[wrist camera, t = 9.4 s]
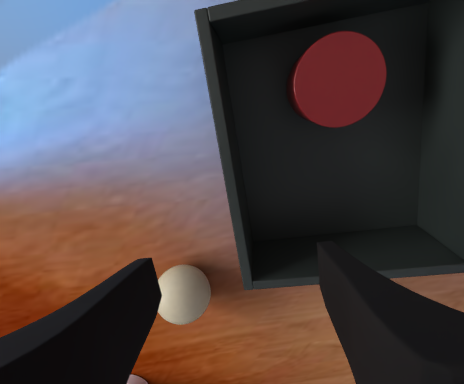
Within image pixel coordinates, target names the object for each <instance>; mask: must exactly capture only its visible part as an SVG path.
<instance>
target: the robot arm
mask: <svg viewBox="0 0 464 384" xmlns="http://www.w3.org/2000/svg"><path fill="white" fill-rule="evenodd" d="M317 253H318V269H319V284H320V288H321V292H322V295H323V299H324V302H325V306H326V309H327V311H328V313H329V316H330V318H331V321H332V323H333V326H334V328H335V330H336V333H337V335H338V338H339V340H340V342H341V345H342V347H343V350H344V352H345V354H346V357H347V359H348V362H349V364H350V367H351V370H352V373H353V376H354V379H355V382H356V384H464V313H463V312H461V311H458V310H455V309H453V308H450V307H448V306H445V305H443V304H440V303H438V302H436V301H433V300H431V299H428V298H426V297H424V296H422V295H419V294H417V293H415V292H413V291H411V290H409V289H407V288H405V287H403V286H401V285H399V284H397V283H395V282H394V281H392V280H390V279H388V278H386V277H385V276H383V275H381V274H380V273H378V272H376V271H375V270H373V269H372V268H370V267H368V266H367V265H365V264H364V263H362V262H361V261H359V260H358V259H356V258H355V257H354V256H352V255H351V254H349V253H348V252H347V251H345V250H344V249H343V248H341V247H340V246H339V245H337V244H336V243H334V242H333V241H326V242H317ZM161 298H162V293H161V290H160V286H159V283H158V279H157V275H156V272H155V268H154V265H153V261H152V258H143V259H137V260H136V261H134V262H132V263H130V264H129V265H127V266H126V267H124V268H123V269H121V270H120V271H118V272H117V273H115V274H114V275H112V276H111V277H109V278H108V279H106V280H105V281H103V282H102V283H101V284H99V285H98V286H96V287H94V288H93V289H91V290H90V291H88V292H87V293H85V294H83V295H82V296H80V297H79V298H77V299H76V300H74V301H72V302H71V303H69V304H67V305H65V306H64V307H62V308H60V309H58V310H56V311H55V312H53V313H51V314H49V315H47V316H45V317H43V318H41V319H39V320H37V321H35V322H33V323H31V324H29V325H27V326H25V327H23V328H21V329H18V330H16V331H14V332H12V333H10V334H8V335H5V336H3V337H1V338H0V384H127V381H128V379H129V376H130V374H131V372H132V369H133V367H134V365H135V362H136V360H137V358H138V356H139V354H140V351H141V349H142V347H143V345H144V343H145V340H146V338H147V336H148V334H149V332H150V329H151V327H152V325H153V323H154V320H155V318H156V315H157V312H158V309H159V305H160V302H161Z"/></svg>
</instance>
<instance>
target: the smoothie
mask: <svg viewBox="0 0 464 384" xmlns="http://www.w3.org/2000/svg"><path fill="white" fill-rule="evenodd" d="M127 384H148V383H147V382H146V381H145V380H144V379H143V378H141V377H139V376H136V375H130V376H129V379H128V381H127Z"/></svg>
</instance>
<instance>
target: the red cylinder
mask: <svg viewBox="0 0 464 384" xmlns="http://www.w3.org/2000/svg"><path fill="white" fill-rule="evenodd" d="M386 75H387V71H386V63H385V59H384V56H383V54H382V52H381V50H380V48H379V47H378V46H377V44H376V43H375V42H374V41H373V40H371V39H370V38H369V37H367V36H365V35H363V34H361V33H358V32H354V31H338V32H334V33H330V34H328V35H326V36H324V37H322V38H320V39H319V40H317V41H316V42H315V43H313V44H312V45H311V46H310V47H309V48H308V49H307V50H306V51H305V52H304V53H303V54H302V55H301V56H300V58H299V59H298V60H297V61H296V62H295V63H294V65H293V67H292V68H291V70H290V73H289V76H288V79H287V86H286V91H287V98H288V101H289V104H290V106H291V107H292V109H293V110H294V112H295V113H296V114H297V115H298V116H300V117H301V118H303V119H304V120H307V121H309V122H312V123H315V124H318V125H321V126H324V127H330V128H338V127H344V126H348V125H351V124H353V123H355V122H357V121H359V120H361V119H362V118H364V117H365V116H366V115H367V114H368V113H369V112H370V111H371V110H372V109H373V108H374V107H375V105H376V104H377V103H378V101H379V99H380V97H381V95H382V93H383V90H384V87H385V83H386Z"/></svg>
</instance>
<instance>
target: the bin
mask: <svg viewBox="0 0 464 384" xmlns="http://www.w3.org/2000/svg"><path fill="white" fill-rule="evenodd" d="M194 13H195V18H196V24H197V30H198V35H199V41H200V46H201V52H202V57H203V63H204V69H205V74H206V80H207V85H208V91H209V96H210V102H211V108H212V113H213V119H214V124H215V130H216V135H217V141H218V147H219V152H220V158H221V163H222V169H223V174H224V180H225V186H226V191H227V197H228V202H229V208H230V213H231V219H232V225H233V230H234V236H235V241H236V247H237V252H238V258H239V264H240V269H241V275H242V280H243V286H244V290H253V289H266V288H279V287H291V286H303V285H316V284H319V269H318V253H317V242H326V241H333V242H334V243H336V244H337V245H339V246H340V247H341V248H343V249H344V250H345V251H347V252H348V253H349V254H351V255H352V256H354V257H355V258H356V259H358V260H359V261H361V262H362V263H364V264H365V265H367V266H368V267H370V268H372V269H373V270H375V271H376V272H378V273H380V274H381V275H383V276H385V277H386V278H388V279H390V278H402V277H415V276H427V275H439V274H452V273H464V0H238V1H233V2H229V3H224V4H220V5H215V6H211V7H208V8H202V9H198V10H195V12H194ZM338 31H354V32H358V33H361V34H363V35H365V36H367V37H369V38H370V39H371V40H373V41H374V42H375V43H376V44H377V46H378V47H379V48H380V50H381V52H382V54H383V56H384V59H385V63H386V71H387V75H386V83H385V87H384V90H383V93H382V95H381V97H380V99H379V101H378V103H377V104H376V105H375V107H374V108H373V109H372V110H371V111H370V112H369V113H368V114H367V115H366V116H365V117H364V118H362V119H361V120H359V121H357V122H355V123H353V124H351V125H348V126H344V127H338V128H330V127H324V126H321V125H318V124H315V123H312V122H309V121H307V120H304V119H303V118H301V117H300V116H298V115H297V114H296V113H295V112H294V110H293V109H292V107H291V106H290V104H289V101H288V98H287V91H286V86H287V79H288V76H289V73H290V70H291V68H292V67H293V65H294V63H295V62H296V61H297V60H298V59H299V58H300V56H301V55H302V54H303V53H304V52H305V51H306V50H307V49H308V48H309V47H310V46H311V45H312V44H313V43H315V42H316V41H317V40H319V39H320V38H322V37H324V36H326V35H328V34H330V33H334V32H338Z"/></svg>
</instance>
